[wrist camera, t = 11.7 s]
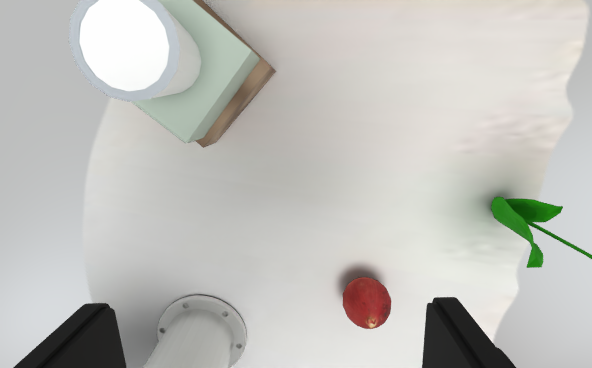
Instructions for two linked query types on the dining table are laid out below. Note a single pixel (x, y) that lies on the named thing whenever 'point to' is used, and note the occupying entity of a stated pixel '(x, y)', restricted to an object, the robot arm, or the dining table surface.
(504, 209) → the flower
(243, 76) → the tower top block
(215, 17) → the tower base block
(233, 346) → the robot arm
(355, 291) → the onion
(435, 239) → the dining table surface
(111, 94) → the white cup
